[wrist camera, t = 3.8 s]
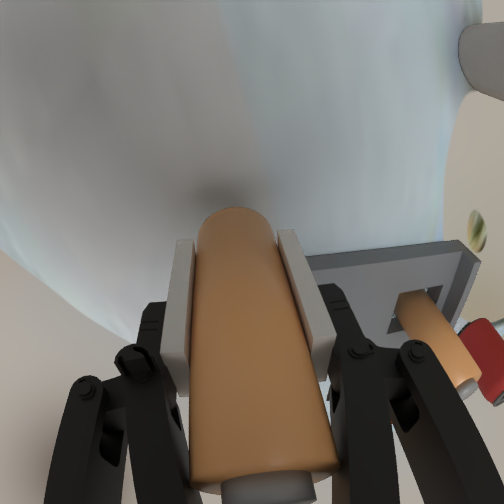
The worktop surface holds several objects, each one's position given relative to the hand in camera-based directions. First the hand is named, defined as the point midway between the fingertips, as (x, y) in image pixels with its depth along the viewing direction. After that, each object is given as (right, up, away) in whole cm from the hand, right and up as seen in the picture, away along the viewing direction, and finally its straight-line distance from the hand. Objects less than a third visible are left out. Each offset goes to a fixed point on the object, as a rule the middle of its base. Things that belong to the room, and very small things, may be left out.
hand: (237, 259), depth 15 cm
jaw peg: (0, +1, +1) cm, 2 cm away
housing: (+11, -5, +14) cm, 18 cm away
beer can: (+32, -11, +21) cm, 40 cm away
